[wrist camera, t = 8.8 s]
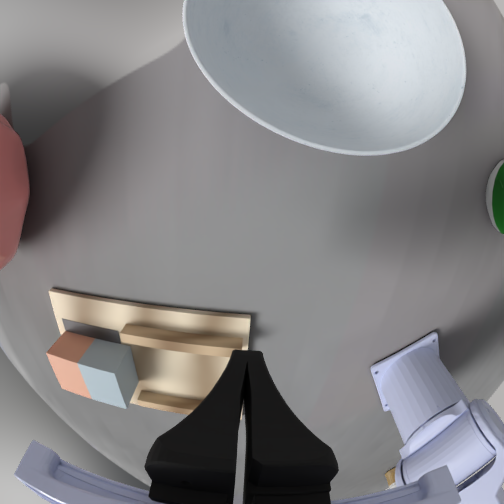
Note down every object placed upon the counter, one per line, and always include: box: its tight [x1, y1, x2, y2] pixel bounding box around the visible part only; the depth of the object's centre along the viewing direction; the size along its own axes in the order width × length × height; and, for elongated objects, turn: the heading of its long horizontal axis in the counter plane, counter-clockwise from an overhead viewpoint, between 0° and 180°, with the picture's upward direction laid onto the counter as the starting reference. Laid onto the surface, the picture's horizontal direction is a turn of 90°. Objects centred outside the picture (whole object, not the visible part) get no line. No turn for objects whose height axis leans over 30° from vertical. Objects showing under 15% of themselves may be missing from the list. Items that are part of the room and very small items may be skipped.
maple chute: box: [49, 288, 251, 420], centre depth 24 cm, size 20×14×2 cm
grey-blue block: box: [77, 338, 139, 409], centre depth 22 cm, size 4×5×4 cm
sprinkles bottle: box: [385, 467, 397, 489], centre depth 29 cm, size 5×5×13 cm
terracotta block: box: [46, 331, 95, 399], centre depth 22 cm, size 4×5×4 cm
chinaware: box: [183, 0, 466, 156], centre depth 12 cm, size 15×15×8 cm
